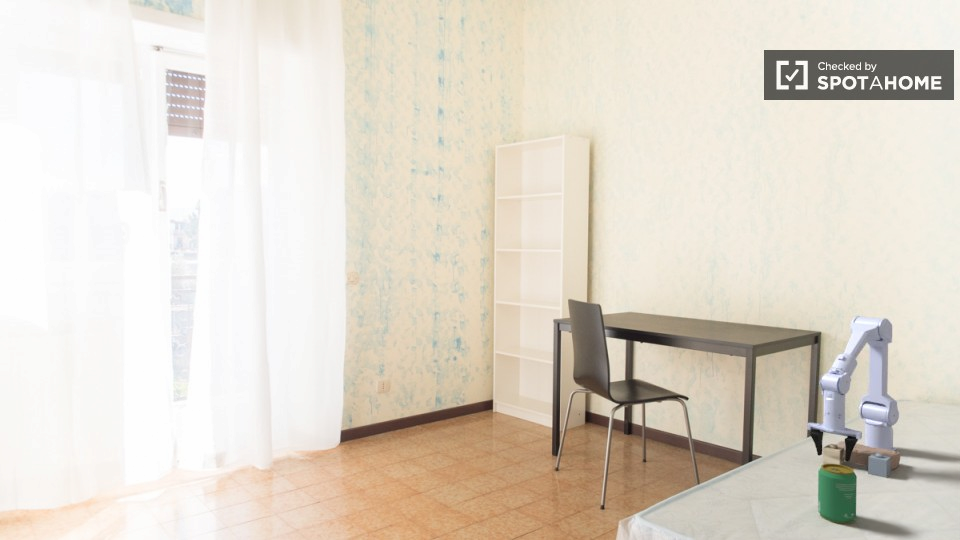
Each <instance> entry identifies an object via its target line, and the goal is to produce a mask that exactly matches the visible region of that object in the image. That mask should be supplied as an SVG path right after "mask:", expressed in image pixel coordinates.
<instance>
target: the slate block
mask: <svg viewBox="0 0 960 540" xmlns="http://www.w3.org/2000/svg"><path fill="white" fill-rule="evenodd" d="M890 466H891V457H888V456H884V455H883V454H880V453H876V454H872V455H870V456H869V457H868V466H867V469H868V470H867V471H868V472H867V474H868V475H872V476H877V477H882V478H884V479H886V478H888V477H889V476H890V475H891V470H890Z"/></svg>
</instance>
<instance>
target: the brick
mask: <svg viewBox="0 0 960 540" xmlns="http://www.w3.org/2000/svg"><path fill="white" fill-rule="evenodd" d="M834 444H835V445H838V447H843V448H844V462H846V461H845V454H846V447H845V440H841V441H839V442H837V443H834ZM876 453H880V454H883V455H884V456H888V457H891V466H890V471H892V470H894V469H897V467H898V466H900V462H901V454H900V452H899V451H897V450H895V451H892V450H887V449H879V448H873V447H869V446H865V444H861V443H856V444H855V446H854V448H853V451H852V453H851V457H850V461H848V462H849V463H853V464H858V465H861V466H866V467H868V457H869V456H870V455H872V454H876Z"/></svg>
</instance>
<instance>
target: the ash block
mask: <svg viewBox="0 0 960 540" xmlns="http://www.w3.org/2000/svg"><path fill="white" fill-rule="evenodd" d="M835 444H836V443H831V444H827V445H825V446H824V447H822V465H823V464H839V465H845V461H844V448H843V447H838V445H835Z"/></svg>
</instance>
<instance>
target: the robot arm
mask: <svg viewBox="0 0 960 540" xmlns="http://www.w3.org/2000/svg"><path fill="white" fill-rule="evenodd" d="M849 327H850V329H849V331H850V333H851V336H850V337H849V340H848V342H847V344H846V347H845V349H844V352H843V353H840V354H838V355H837V356H836V358H835V359H834V362H833V363H832V365H831V367H830V369H829V371H828V372H826V373H823V374H822V375H821V376H820V380H819V388H820V390H821V397H823V409H822V411H823V419H822V420H823V421H822V422H823V423H817V422H808V423H806V424H807V426H806V429H807V431H810V432H809V435H810V437H811V440H812V441H813V443H814V445H815V448H816V454H817V456H821V455H822V456H823V441H824V440H823V438H824V433H827V434H832V435H838V436H842V437H845V438H844V441H845V447H846V454H845V461H844V462H848V461H850V457H851V453H852V451H853V448H854V446H855V444H856V443H857V442H858V441H859V440H862V439H863V431H861V430H860V431H859V430H855V429H851V428H847V427H846V394H848V392H849V390H850V388H851V382H852V375H853V373H854V372H855V370H856V367H857V366H858V361H857V358H858V356H859V355H860V353H861V352H862V351H863V349H864V347H865V346H866V345H868V347H869V348H868V349H869V350H868V351H869V357H868V360H869V361H868V362H869V363H868V393H866V394H864V395H862V397H860V404H859V407H858V414H859V416H860V418H861V419H862V421H863V423H864V425H865V426H864V431H865V432H864V446H869V447H873V448H879V449H887V450H892V451H897V448H896V447H894V428H893V426H894V425H896V424H897V423H898V421H899V419H900V418H899V417H900V411H899V409H898V401H897V400H895V399H894V398H893V397H892V396H891V395H890V394H888V381H889V380H888V379H889V378H888V376H889V375H888V373H889V372H888V371H889V370H888V369H889V344H891V343H893V324H892V323H891V321H890V320H889V319H888V318H885V317H884V318H879V317H878V318H877V317H866V316H865V317H864V316H858V315H856V316H855V317H853V318H852V320H851V322H850V326H849ZM857 444H858V443H857Z"/></svg>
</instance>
